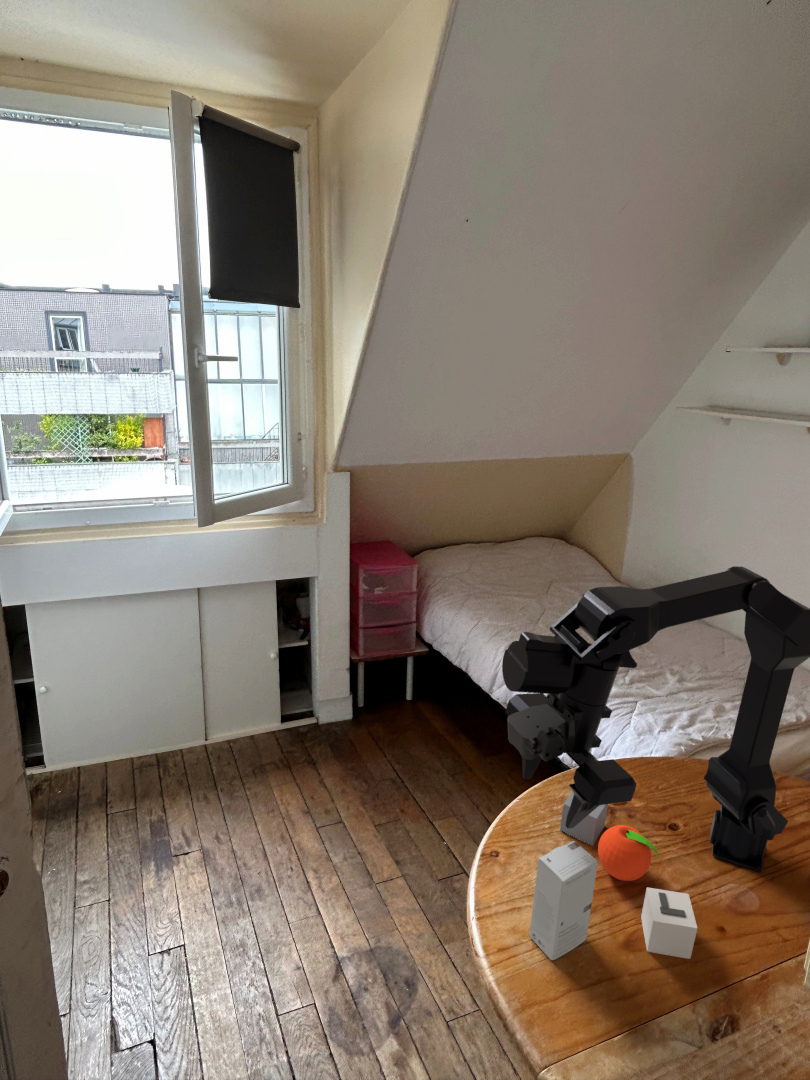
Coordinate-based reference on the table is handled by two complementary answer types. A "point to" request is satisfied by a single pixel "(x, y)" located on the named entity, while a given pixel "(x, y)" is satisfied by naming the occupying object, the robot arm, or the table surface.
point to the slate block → (585, 822)
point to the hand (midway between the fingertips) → (547, 801)
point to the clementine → (625, 852)
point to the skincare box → (562, 899)
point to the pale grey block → (668, 923)
